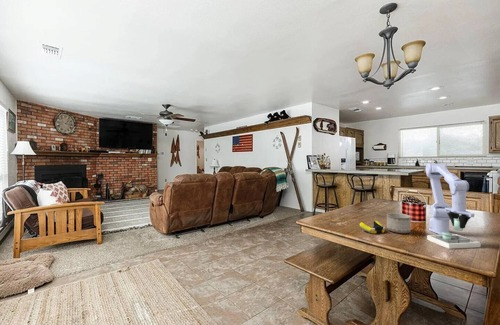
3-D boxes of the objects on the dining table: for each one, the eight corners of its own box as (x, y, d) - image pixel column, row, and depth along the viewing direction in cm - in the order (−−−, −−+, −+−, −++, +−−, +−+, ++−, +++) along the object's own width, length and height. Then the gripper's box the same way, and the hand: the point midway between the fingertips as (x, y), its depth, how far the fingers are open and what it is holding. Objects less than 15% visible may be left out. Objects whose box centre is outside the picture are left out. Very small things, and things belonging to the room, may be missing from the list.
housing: (449, 248, 117) (449, 238, 117) (427, 239, 130) (427, 230, 130) (480, 247, 118) (480, 236, 118) (455, 238, 131) (455, 228, 131)
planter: (389, 233, 141) (389, 217, 141) (385, 227, 153) (385, 212, 153) (413, 235, 137) (413, 218, 136) (407, 229, 148) (407, 213, 148)
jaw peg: (451, 228, 126) (451, 218, 126) (458, 228, 126) (458, 218, 126) (458, 231, 122) (458, 220, 122) (465, 230, 122) (465, 220, 122)
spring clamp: (357, 230, 148) (370, 235, 139) (357, 222, 148) (370, 226, 139) (375, 227, 153) (388, 232, 143) (375, 219, 153) (389, 224, 143)
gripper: (439, 200, 131) (439, 223, 131) (465, 205, 116) (465, 231, 117) (451, 199, 131) (450, 222, 132) (478, 205, 117) (477, 231, 117)
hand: (458, 226), depth 124 cm, fingers closed on jaw peg, 4 cm apart
